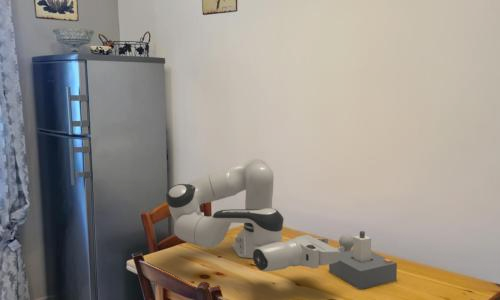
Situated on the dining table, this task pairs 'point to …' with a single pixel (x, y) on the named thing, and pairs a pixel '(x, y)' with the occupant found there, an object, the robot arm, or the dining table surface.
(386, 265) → the socket housing
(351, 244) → the light bulb
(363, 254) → the plug
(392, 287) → the dining table surface
